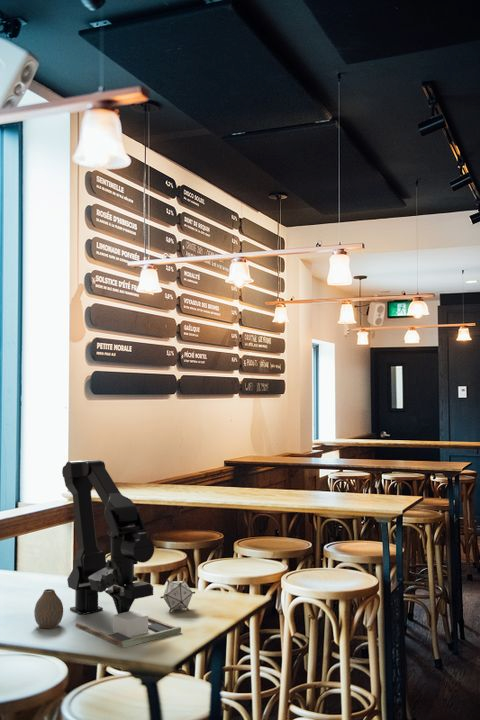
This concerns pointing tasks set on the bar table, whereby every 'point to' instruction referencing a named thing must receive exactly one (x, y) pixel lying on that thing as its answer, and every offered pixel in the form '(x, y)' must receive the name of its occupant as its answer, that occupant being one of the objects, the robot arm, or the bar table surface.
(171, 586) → the game die
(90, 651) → the bar table surface
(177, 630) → the wood-trimmed serving tray
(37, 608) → the vase
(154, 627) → the dark grey rectangular slab
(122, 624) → the block
